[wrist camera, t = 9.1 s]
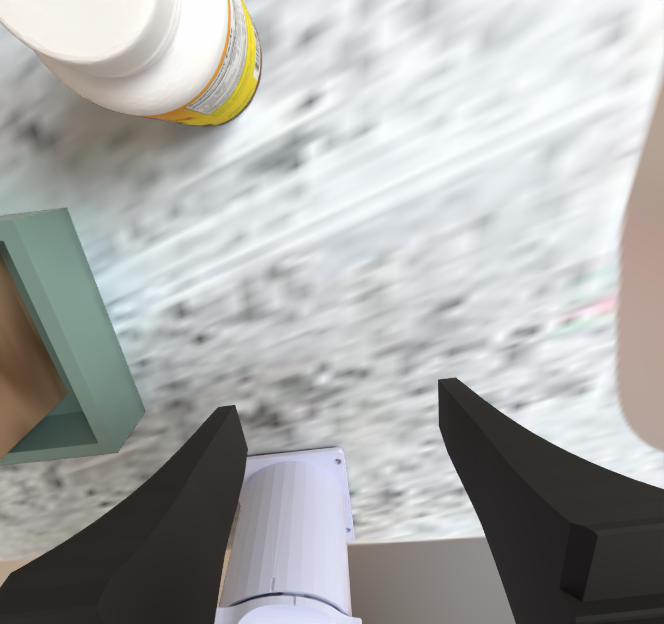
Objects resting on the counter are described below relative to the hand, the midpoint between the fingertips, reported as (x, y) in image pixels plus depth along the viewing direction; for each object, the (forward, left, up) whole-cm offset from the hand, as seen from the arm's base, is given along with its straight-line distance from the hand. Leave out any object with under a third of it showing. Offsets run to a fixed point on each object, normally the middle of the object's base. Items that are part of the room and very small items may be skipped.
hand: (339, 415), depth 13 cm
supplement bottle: (+13, +4, -10) cm, 17 cm away
